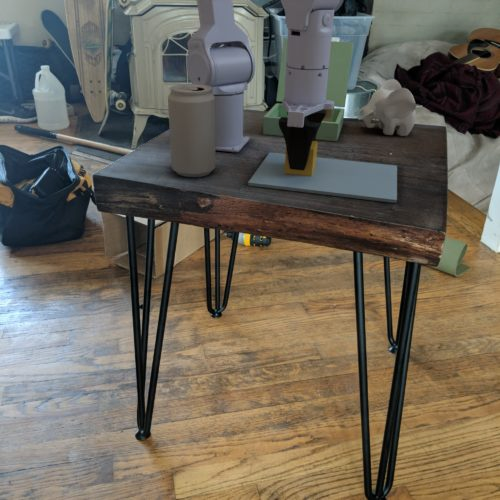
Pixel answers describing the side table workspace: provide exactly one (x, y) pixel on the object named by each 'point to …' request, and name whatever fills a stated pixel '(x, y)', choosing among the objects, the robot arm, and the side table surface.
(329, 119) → the birch block
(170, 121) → the beverage can
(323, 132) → the box
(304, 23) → the robot arm
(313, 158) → the mustard block
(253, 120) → the side table surface
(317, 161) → the placemat
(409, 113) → the elephant figurine
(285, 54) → the lunchbox lid
